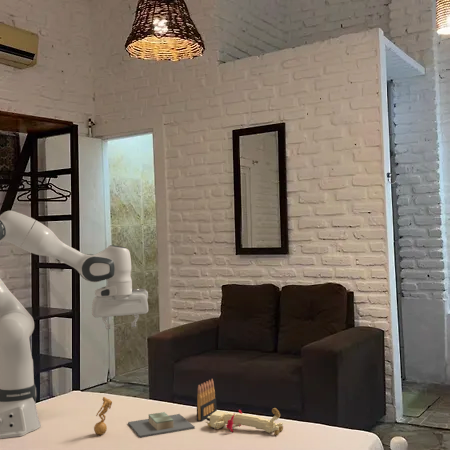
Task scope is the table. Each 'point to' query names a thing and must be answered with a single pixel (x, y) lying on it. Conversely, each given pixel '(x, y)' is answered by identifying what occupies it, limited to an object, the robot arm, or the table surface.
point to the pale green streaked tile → (161, 421)
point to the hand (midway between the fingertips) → (120, 328)
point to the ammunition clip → (206, 400)
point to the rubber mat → (147, 429)
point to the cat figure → (245, 421)
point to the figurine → (101, 426)
